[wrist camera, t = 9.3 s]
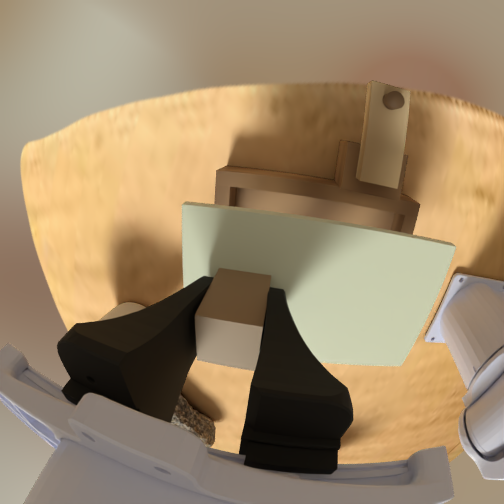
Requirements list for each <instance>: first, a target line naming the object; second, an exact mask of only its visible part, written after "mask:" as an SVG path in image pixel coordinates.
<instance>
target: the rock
mask: <svg viewBox="0 0 504 504" xmlns="http://www.w3.org/2000/svg"><path fill="white" fill-rule="evenodd" d="M171 424H174V425H176V426H178V427H181V428H183V429H186V430H188V431H189V432H191V433H192V434H194V435H195V436H197V437H199V438H200V439H201V441H202V442H203V444H204V445H205V446H206V447H209V448H210V447H211V446H212V445H213V444H214V442H215V429H216V428H215V426H214V423H213V421H212V420H211V419H210V418H208V417H207V416H206V415H204V414H201V413H199V412H198V411H197V410H193V408H192V406H190V405H189V404H188V402H187V400H186V399H185V398H184V397H182V396H181V394H180V396H179V399H178V402H177V405H176V408H175V411H174V414H173V418H172V421H171Z"/></svg>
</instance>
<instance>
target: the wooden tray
mask: <svg viewBox="0 0 504 504" xmlns="http://www.w3.org/2000/svg"><path fill="white" fill-rule="evenodd" d="M360 146H361V144H359V143H354V142H349V141H342V140H340V144H339V152H338V159H337V166H336V172H335V179H334V180H330V179H325V178H319V177H313V176H306V175H300V174H293V173H286V172H278V171H270V170H262V169H253V168H244V167H233V166H225V167H223V168H221V169H219V170H216V186H215V205H224V206H233V207H241V208H249V209H257V210H265V211H273V212H280V213H287V214H294V215H301V216H308V217H315V218H321V219H328V220H334V221H340V222H346V223H352V224H358V225H364V226H370V227H375V228H381V229H386V230H391V231H397V232H402V233H407V234H413V231H414V227H415V223H416V220H417V216H418V212H419V208H420V204H419V203H418V202H416V201H415V200H413V199H412V198H410V197H409V196H407V195H403V194H401V191H402V186H403V181H404V176H405V171H406V165H407V159H408V156H407V155H403V161H402V167H401V173H400V178H399V183H398V188H397V189H395V188H391V187H387V186H382V185H378V184H373V183H368V182H364V181H359V180H358V179H357V178H356V173H357V166H358V160H359V153H360Z"/></svg>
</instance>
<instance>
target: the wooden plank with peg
mask: <svg viewBox="0 0 504 504" xmlns="http://www.w3.org/2000/svg"><path fill="white" fill-rule="evenodd" d="M409 105H410V91H407V90H404V89H401V88H398V87H394V86H391V85H388V84H384V83H380V82H377V81H373V80H372V81H370V82H369V83H368V84H367V93H366V104H365V114H364V123H363V131H362V139H361V146H360V153H359V160H358V166H357V173H356V178H357V179H358V180H359V181H364V182H368V183H373V184H378V185H382V186H387V187H391V188H395V189H397V188H398V183H399V178H400V173H401V167H402V161H403V155H404V148H405V141H406V134H407V125H408V116H409Z"/></svg>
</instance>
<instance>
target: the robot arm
mask: <svg viewBox="0 0 504 504" xmlns="http://www.w3.org/2000/svg"><path fill="white" fill-rule="evenodd" d="M460 278H462V279H461V280H460ZM213 279H214V277H208V276H202V277H201V278H199V279H197V280H196V281H194V282H193V283H191V284H189V285H188V286H186V287H185V288H183V289H181V290H180V291H178V292H176V293H175V294H173V295H171V296H169V297H167V298H165V299H164V300H162V301H160V302H158V303H156V304H154V305H151V306H149V307H147V308H144V309H142V310H139V311H136V312H133V313H130V314H127V315H123V316H120V317H116V318H112V319H107V320H102V321H95V322H87V323H76V324H75V325H74V326H73V327H72V328H71V329H70V330H69V331H68V332H67V333H66V334H65V336H64V337H63V338H62V339H61V340H60V341H59V342H58V345H57V349H58V354H59V356H60V359H61V361H62V363H63V365H64V367H65V369H66V370H67V372H68V374H69V376H70V378H71V379H70V380H69V381H68V383H67V384H66V385H65V386H64V388H63V387H62V386H60V385H58V384H57V383H55V382H54V381H52V380H50V379H49V378H47V377H46V376H44V375H43V374H41V373H40V372H38V371H37V370H35V369H34V368H32V367H31V366H30V365H29V363H28V361H27V359H26V358H25V356H24V355H23V353H22V352H21V351H20V350H18V349H17V348H16V347H14V346H13V345H12V344H10V343H7V344H6V345H5V346H4V347H3V348H2V349H1V350H0V400H1V401H2V402H3V404H4V405H5V406H6V407H7V408H8V409H9V410H10V411H11V412H13V414H14V415H16V416H17V417H18V418H19V419H20V420H21V421H22V422H23V423H24V424H25V425H27V426H28V427H29V428H30V429H31V430H32V431H34V432H35V433H36V434H37V435H38V436H40V437H41V438H42V439H43V440H44V441H46V442H47V443H48V444H50V445H51V446H52V447H54V448H55V451H54V453H53V454H52V456H51V457H50V459H49V460H48V462H47V464H46V466H45V467H44V469H43V471H42V472H41V474H40V476H39V477H38V479H37V481H36V482H35V484H34V486H33V488H32V490H31V491H30V493H29V495H28V496H27V498H26V500H25V502H24V504H443V503H445V502H447V501H449V500H451V499H453V497H454V491H453V484H452V478H451V472H450V466H449V461H448V456H447V451H446V447H445V446H440V447H434V448H429V449H423V450H420V451H418V452H416V453H414V454H413V455H411V456H410V457H409V458H408V460H401V461H392V462H381V463H366V464H338V450H339V449H340V446H341V444H340V438H341V437H342V436H343V434H344V433H345V432H346V430H347V429H348V428H349V427H350V425H351V423H352V421H353V407H352V402H351V398H350V395H349V391H348V388H347V387H346V386H345V385H343V384H342V383H341V382H340V381H338V380H337V379H336V378H335V377H334V376H333V375H331V374H330V373H329V372H328V371H327V370H326V369H325V368H324V367H323V365H322V364H321V363H320V362H319V361H318V359H317V358H316V357H315V356H314V355H313V353H312V352H311V351H310V349H309V348H308V346H307V345H306V343H305V341H304V340H303V338H302V336H301V335H300V333H299V331H298V329H297V327H296V325H295V322H294V320H293V318H292V315H291V313H290V310H289V307H288V304H287V300H286V295H285V291H284V289H279V288H272V287H270V288H269V292H268V295H267V306H266V313H265V319H264V326H263V333H262V339H261V345H260V353H259V357H258V361H257V364H256V368H255V372H254V375H253V379H252V382H251V387H250V393H249V400H248V406H247V413H246V419H245V424H244V428H243V432H242V436H241V444H240V450H239V454H235V453H230V452H226V451H221V450H217V449H213V448H209V447H206V446H205V445H204V444H203V442H202V441H201V439H200V438H199V437H197V436H195V435H194V434H192V433H191V432H189V431H188V430H186V429H183V428H181V427H178V426H176V425H174V424H171V421H172V418H173V414H174V411H175V408H176V405H177V402H178V399H179V396H180V393H181V390H182V388H183V385H184V382H185V380H186V377H187V374H188V372H189V370H190V367H191V365H192V363H193V361H194V359H195V358H196V356H197V349H196V331H195V314H196V312H197V310H198V308H199V306H200V304H201V302H202V300H203V298H204V296H205V294H206V292H207V290H208V288H209V286H210V285H211V283H212V281H213ZM432 337H433V338H432ZM424 339H425V341H426V342H441V343H446V344H447V346H448V348H449V351H450V353H451V355H452V357H453V359H454V361H455V363H456V366H457V368H458V370H459V372H460V375H461V377H462V379H463V382H464V384H465V386H466V389H467V391H468V392H467V393H466V395H465V396H464V397H463V398H462V399H463V402H464V404H465V408H464V409H463V410H462V412H461V414H460V417H459V427H458V431H459V438H460V441H461V444H462V446H463V448H464V450H465V451H466V453H467V454H468V455H469V456H470V457H471V458H472V459H473V460H474V461H475V463H476V464H477V465H478V467H479V469H480V471H481V473H482V476H483V478H485V479H490V480H504V281H500V280H495V279H489V278H484V277H478V276H473V275H467V274H462V273H456V274H454V275H453V277H452V280H451V282H450V284H449V287H448V289H447V292H446V294H445V296H444V298H443V301H442V303H441V305H440V307H439V309H438V311H437V313H436V315H435V317H434V319H433V321H432V323H431V325H430V327H429V329H428V331H427V333H426V335H425V337H424Z"/></svg>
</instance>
